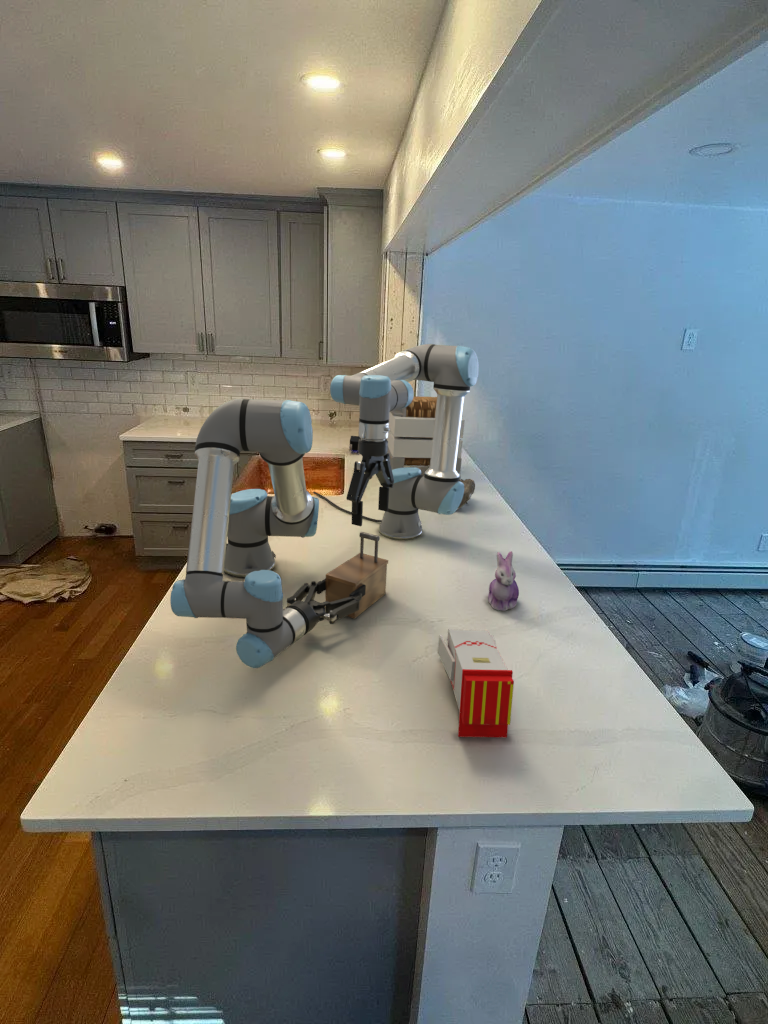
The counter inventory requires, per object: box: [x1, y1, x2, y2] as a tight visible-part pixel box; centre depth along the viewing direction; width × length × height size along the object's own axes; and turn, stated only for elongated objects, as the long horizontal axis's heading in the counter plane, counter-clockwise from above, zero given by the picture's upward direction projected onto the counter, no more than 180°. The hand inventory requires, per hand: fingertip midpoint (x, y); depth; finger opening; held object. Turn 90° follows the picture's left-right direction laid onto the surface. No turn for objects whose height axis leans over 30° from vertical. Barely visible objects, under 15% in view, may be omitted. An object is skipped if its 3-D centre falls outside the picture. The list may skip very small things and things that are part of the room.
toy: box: [437, 628, 515, 738], centre depth 117 cm, size 12×13×30 cm
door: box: [325, 531, 389, 587], centre depth 149 cm, size 17×9×9 cm, turn 150°
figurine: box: [487, 550, 520, 612], centre depth 153 cm, size 9×10×15 cm
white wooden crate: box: [386, 395, 465, 480], centre depth 268 cm, size 34×33×41 cm
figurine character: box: [348, 435, 360, 455], centre depth 309 cm, size 7×8×15 cm
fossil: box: [457, 478, 476, 510], centre depth 232 cm, size 22×10×15 cm
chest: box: [324, 564, 388, 620], centre depth 151 cm, size 16×9×9 cm, turn 151°
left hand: (348, 584), depth 147 cm, fingers closed on chest, 9 cm apart
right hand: (370, 517), depth 150 cm, fingers open, 13 cm apart
